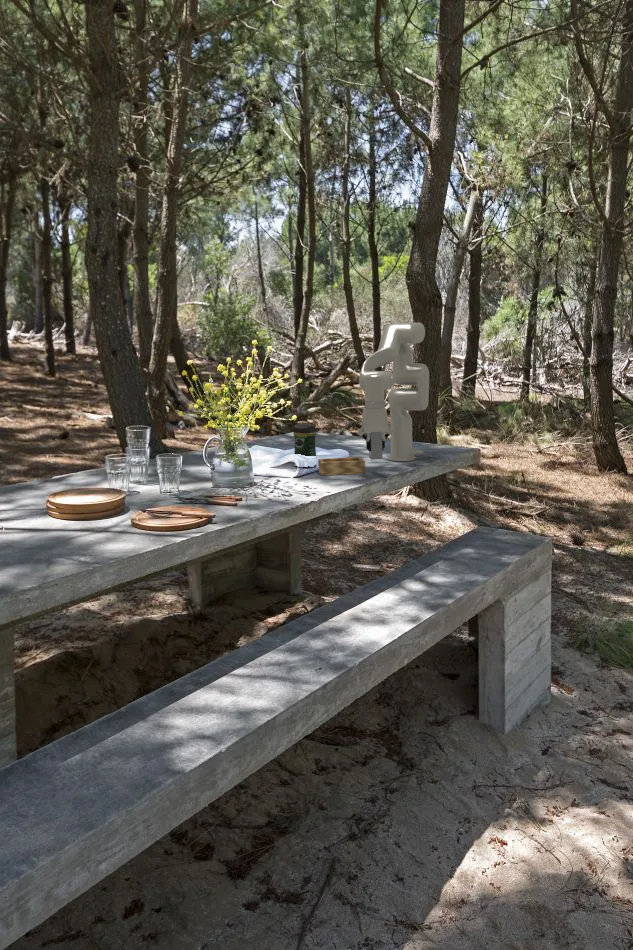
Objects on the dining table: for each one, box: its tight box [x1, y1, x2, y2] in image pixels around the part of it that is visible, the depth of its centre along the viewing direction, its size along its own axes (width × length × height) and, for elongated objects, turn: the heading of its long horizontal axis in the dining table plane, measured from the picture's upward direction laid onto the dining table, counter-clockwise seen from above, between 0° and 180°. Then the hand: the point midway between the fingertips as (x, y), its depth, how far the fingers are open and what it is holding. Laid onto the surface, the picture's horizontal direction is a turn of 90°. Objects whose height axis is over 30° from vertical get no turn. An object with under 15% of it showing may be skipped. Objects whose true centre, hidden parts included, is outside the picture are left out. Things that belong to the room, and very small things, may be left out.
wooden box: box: [317, 456, 366, 477], centre depth 334 cm, size 18×10×5 cm, turn 97°
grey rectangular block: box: [368, 432, 383, 461], centre depth 325 cm, size 4×4×11 cm
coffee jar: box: [292, 423, 317, 457], centre depth 348 cm, size 10×8×19 cm
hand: (375, 449), depth 326 cm, fingers closed on grey rectangular block, 4 cm apart
